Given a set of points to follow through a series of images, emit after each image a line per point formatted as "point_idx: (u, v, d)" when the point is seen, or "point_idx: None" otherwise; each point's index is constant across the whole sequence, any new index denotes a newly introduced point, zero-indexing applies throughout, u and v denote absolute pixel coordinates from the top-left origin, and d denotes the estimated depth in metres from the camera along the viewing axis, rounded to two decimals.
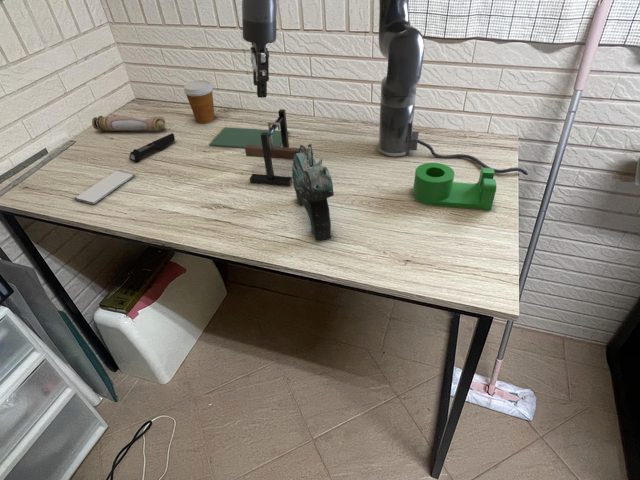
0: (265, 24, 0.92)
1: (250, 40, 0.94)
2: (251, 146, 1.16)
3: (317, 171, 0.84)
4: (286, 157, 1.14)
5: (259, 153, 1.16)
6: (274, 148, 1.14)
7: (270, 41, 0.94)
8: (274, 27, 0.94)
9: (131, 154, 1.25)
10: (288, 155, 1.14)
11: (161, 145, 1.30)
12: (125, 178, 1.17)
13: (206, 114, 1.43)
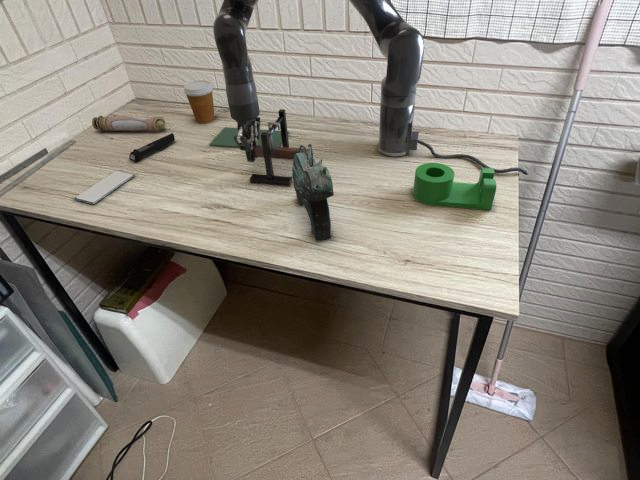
0: (240, 106, 1.05)
1: (232, 118, 1.08)
2: None
3: (317, 171, 0.84)
4: (286, 157, 1.14)
5: (259, 153, 1.16)
6: (274, 148, 1.14)
7: (248, 119, 1.07)
8: (251, 107, 1.06)
9: (131, 154, 1.25)
10: (288, 155, 1.14)
11: (161, 145, 1.30)
12: (125, 178, 1.17)
13: (206, 114, 1.43)
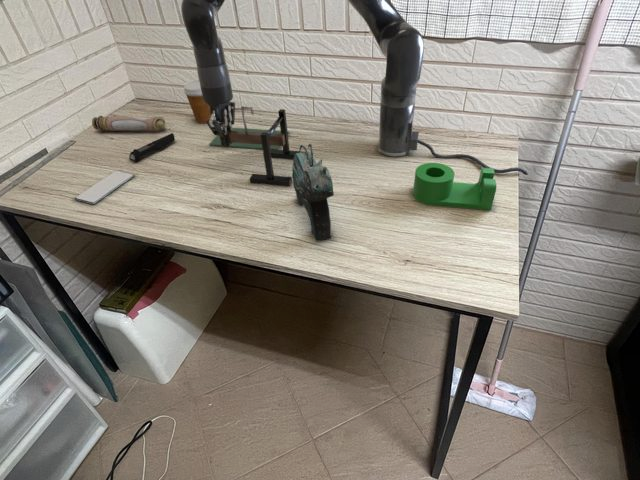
0: (212, 89, 1.04)
1: (205, 101, 1.07)
2: None
3: (317, 171, 0.84)
4: (260, 142, 1.13)
5: (233, 138, 1.15)
6: (248, 133, 1.13)
7: (220, 103, 1.06)
8: (223, 91, 1.05)
9: (131, 154, 1.25)
10: None
11: (161, 145, 1.30)
12: (125, 178, 1.17)
13: (206, 114, 1.43)
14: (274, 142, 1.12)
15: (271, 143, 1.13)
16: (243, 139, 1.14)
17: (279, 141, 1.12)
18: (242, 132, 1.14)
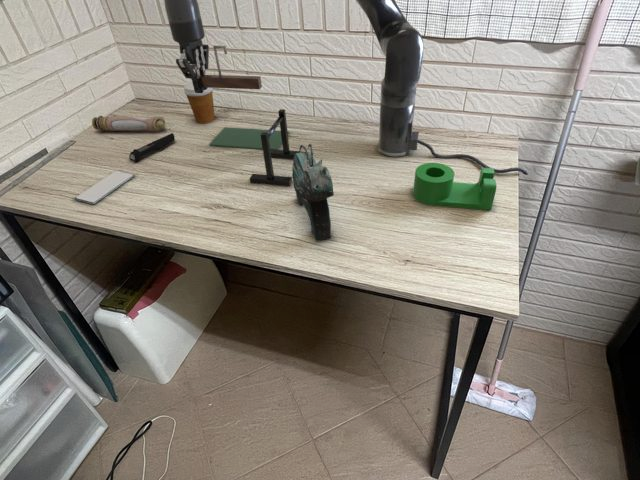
0: (181, 24, 0.97)
1: (174, 39, 1.00)
2: None
3: (317, 171, 0.84)
4: (235, 86, 1.06)
5: (207, 83, 1.08)
6: (222, 76, 1.06)
7: (191, 40, 0.99)
8: (193, 26, 0.98)
9: (131, 154, 1.25)
10: (237, 84, 1.06)
11: (161, 145, 1.30)
12: (125, 178, 1.17)
13: (206, 114, 1.43)
14: (250, 85, 1.05)
15: (246, 86, 1.06)
16: (216, 83, 1.07)
17: (255, 84, 1.05)
18: (216, 76, 1.07)
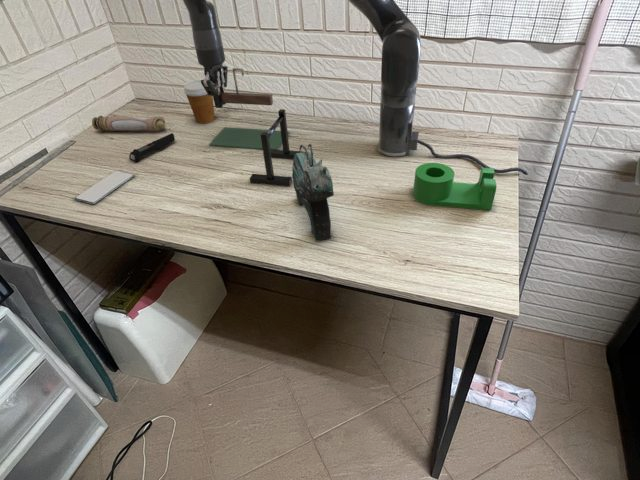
0: (206, 51, 1.15)
1: (199, 63, 1.18)
2: None
3: (317, 171, 0.84)
4: (250, 102, 1.24)
5: (226, 99, 1.26)
6: (239, 94, 1.24)
7: (214, 64, 1.17)
8: (216, 53, 1.16)
9: (131, 154, 1.25)
10: (252, 100, 1.24)
11: (161, 145, 1.30)
12: (125, 178, 1.17)
13: (206, 114, 1.43)
14: (263, 102, 1.23)
15: (260, 103, 1.24)
16: (234, 100, 1.25)
17: (267, 101, 1.23)
18: (234, 93, 1.25)
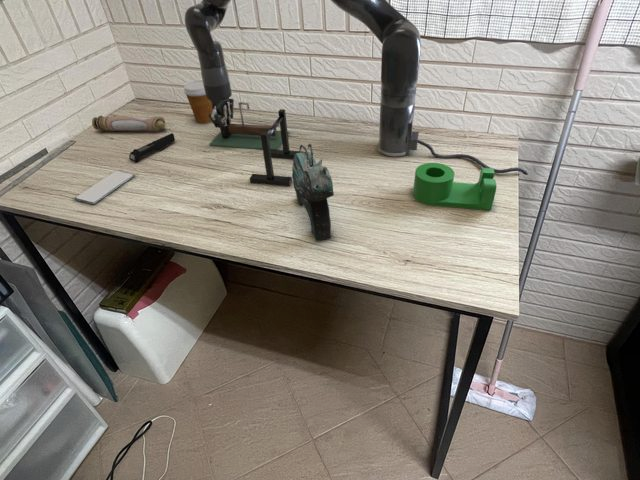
0: (214, 87, 1.21)
1: (207, 98, 1.25)
2: None
3: (317, 171, 0.84)
4: (255, 133, 1.31)
5: (232, 130, 1.32)
6: (245, 125, 1.31)
7: (221, 99, 1.24)
8: (223, 89, 1.22)
9: (131, 154, 1.25)
10: (257, 132, 1.30)
11: (161, 145, 1.30)
12: (125, 178, 1.17)
13: (206, 114, 1.43)
14: None
15: None
16: (240, 131, 1.31)
17: None
18: (239, 125, 1.31)
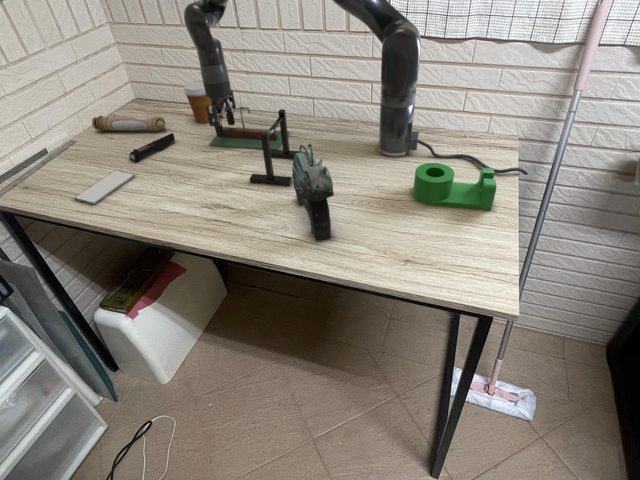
0: (213, 85, 1.21)
1: (207, 95, 1.24)
2: (225, 128, 1.33)
3: (317, 171, 0.84)
4: (256, 137, 1.32)
5: (233, 134, 1.33)
6: (246, 130, 1.31)
7: (220, 96, 1.23)
8: (223, 86, 1.22)
9: (131, 154, 1.25)
10: (257, 136, 1.31)
11: (161, 145, 1.30)
12: (125, 178, 1.17)
13: (206, 114, 1.43)
14: None
15: None
16: (241, 135, 1.32)
17: (272, 136, 1.30)
18: (240, 129, 1.32)
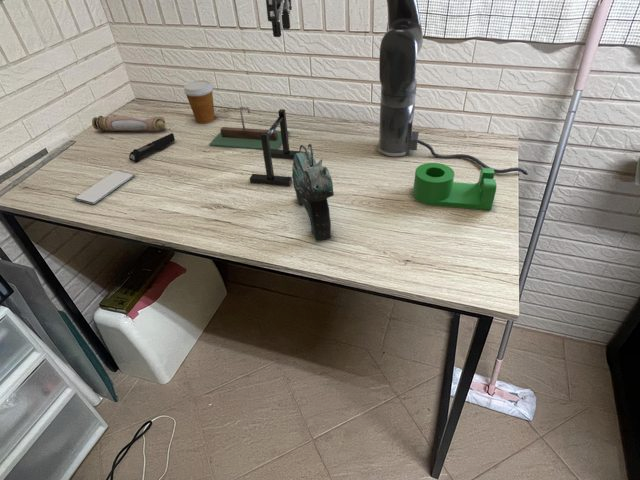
0: None
1: None
2: (225, 128, 1.33)
3: (317, 171, 0.84)
4: (256, 137, 1.32)
5: (233, 134, 1.33)
6: (246, 130, 1.31)
7: None
8: None
9: (131, 154, 1.25)
10: (257, 136, 1.31)
11: (161, 145, 1.30)
12: (125, 178, 1.17)
13: (206, 114, 1.43)
14: None
15: None
16: (241, 135, 1.32)
17: (272, 136, 1.30)
18: (240, 129, 1.32)
